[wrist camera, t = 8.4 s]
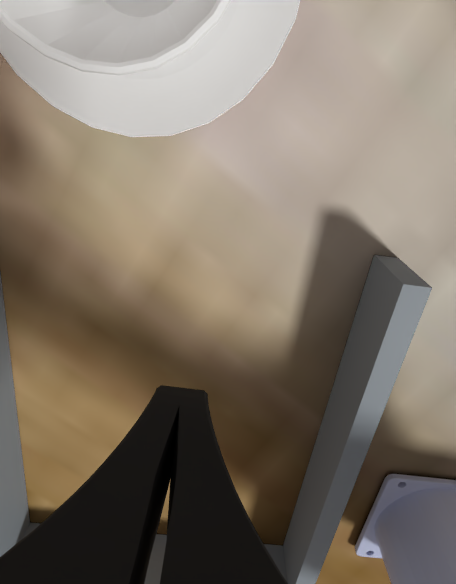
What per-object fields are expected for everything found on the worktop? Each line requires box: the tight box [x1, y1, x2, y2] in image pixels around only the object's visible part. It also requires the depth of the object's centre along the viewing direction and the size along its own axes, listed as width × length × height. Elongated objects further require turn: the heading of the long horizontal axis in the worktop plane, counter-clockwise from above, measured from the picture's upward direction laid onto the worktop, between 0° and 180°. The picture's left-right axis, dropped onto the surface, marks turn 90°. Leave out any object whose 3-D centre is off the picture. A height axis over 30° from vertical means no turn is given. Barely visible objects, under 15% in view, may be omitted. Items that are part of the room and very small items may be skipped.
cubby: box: [0, 255, 432, 584], centre depth 22 cm, size 20×24×4 cm
